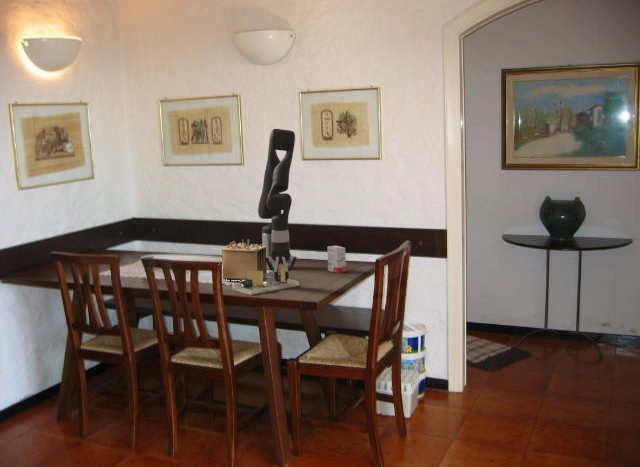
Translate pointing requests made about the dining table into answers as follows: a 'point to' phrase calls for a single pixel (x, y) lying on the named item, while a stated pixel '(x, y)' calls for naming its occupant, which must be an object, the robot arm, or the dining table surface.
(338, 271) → the ink box
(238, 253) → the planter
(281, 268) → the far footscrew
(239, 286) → the levelling plate
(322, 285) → the dining table surface
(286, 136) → the robot arm
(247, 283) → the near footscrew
